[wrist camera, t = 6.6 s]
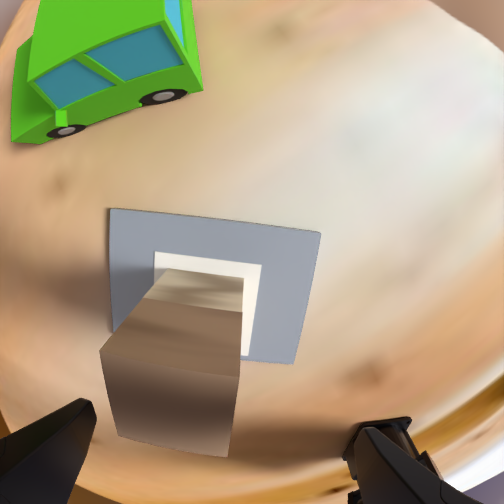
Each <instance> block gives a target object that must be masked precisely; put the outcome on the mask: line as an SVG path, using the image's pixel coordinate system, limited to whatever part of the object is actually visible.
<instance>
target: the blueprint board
mask: <svg viewBox="0 0 504 504" xmlns="http://www.w3.org/2000/svg"><path fill="white" fill-rule="evenodd" d="M320 238H321V233H320V232H316V231H309V230H302V229H295V228H287V227H280V226H273V225H265V224H257V223H249V222H241V221H233V220H225V219H216V218H208V217H199V216H190V215H181V214H172V213H162V212H152V211H142V210H131V209H120V208H112V209H111V210H110V243H109V259H110V292H111V308H112V321H113V331H114V332H115V331H116V329H117V328H118V327H119V326H120V325H121V323H122V322H123V321H124V320H125V319H126V317H127V316H128V315H129V314H130V313H131V311H132V310H133V309H134V308H135V307H136V306H137V304H138V303H139V302H140V301H141V300H142V298H143V297H144V295H145V294H146V293H147V292H148V291H149V290H150V289H151V287H152V286H153V285H154V284H155V283H156V282H157V281H158V279H159V278H160V277H161V276H162V275H163V274H164V273H165V272H166V270H167V269H168V268H171V269H178V270H186V271H193V272H201V273H208V274H216V275H224V276H232V277H240V278H244V288H243V305H242V312H243V316H242V336H241V356H240V360H246V361H256V362H267V363H280V364H294V360H295V356H296V352H297V348H298V344H299V340H300V335H301V331H302V327H303V323H304V318H305V314H306V309H307V305H308V300H309V295H310V290H311V286H312V281H313V276H314V270H315V265H316V260H317V255H318V249H319V244H320Z"/></svg>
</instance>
